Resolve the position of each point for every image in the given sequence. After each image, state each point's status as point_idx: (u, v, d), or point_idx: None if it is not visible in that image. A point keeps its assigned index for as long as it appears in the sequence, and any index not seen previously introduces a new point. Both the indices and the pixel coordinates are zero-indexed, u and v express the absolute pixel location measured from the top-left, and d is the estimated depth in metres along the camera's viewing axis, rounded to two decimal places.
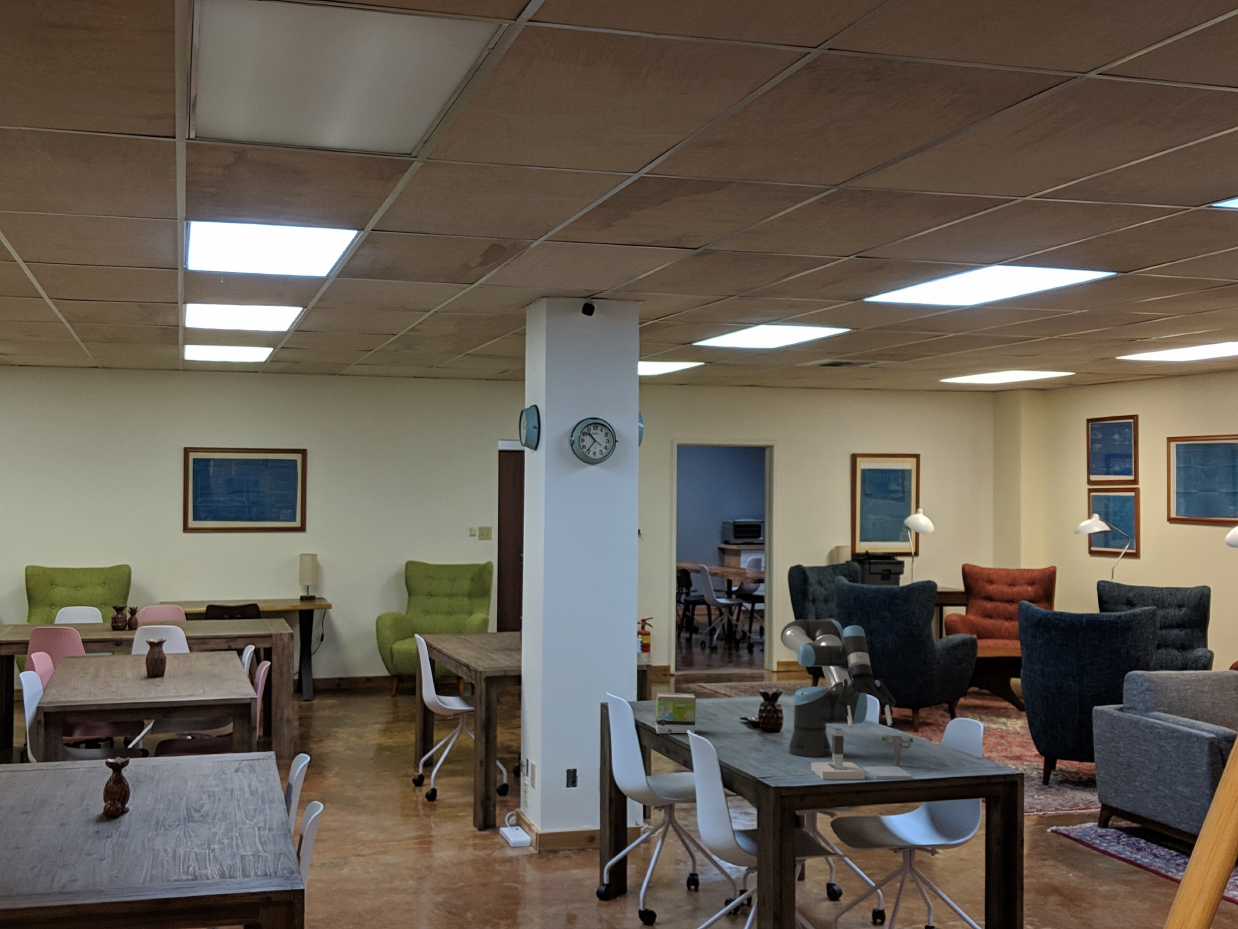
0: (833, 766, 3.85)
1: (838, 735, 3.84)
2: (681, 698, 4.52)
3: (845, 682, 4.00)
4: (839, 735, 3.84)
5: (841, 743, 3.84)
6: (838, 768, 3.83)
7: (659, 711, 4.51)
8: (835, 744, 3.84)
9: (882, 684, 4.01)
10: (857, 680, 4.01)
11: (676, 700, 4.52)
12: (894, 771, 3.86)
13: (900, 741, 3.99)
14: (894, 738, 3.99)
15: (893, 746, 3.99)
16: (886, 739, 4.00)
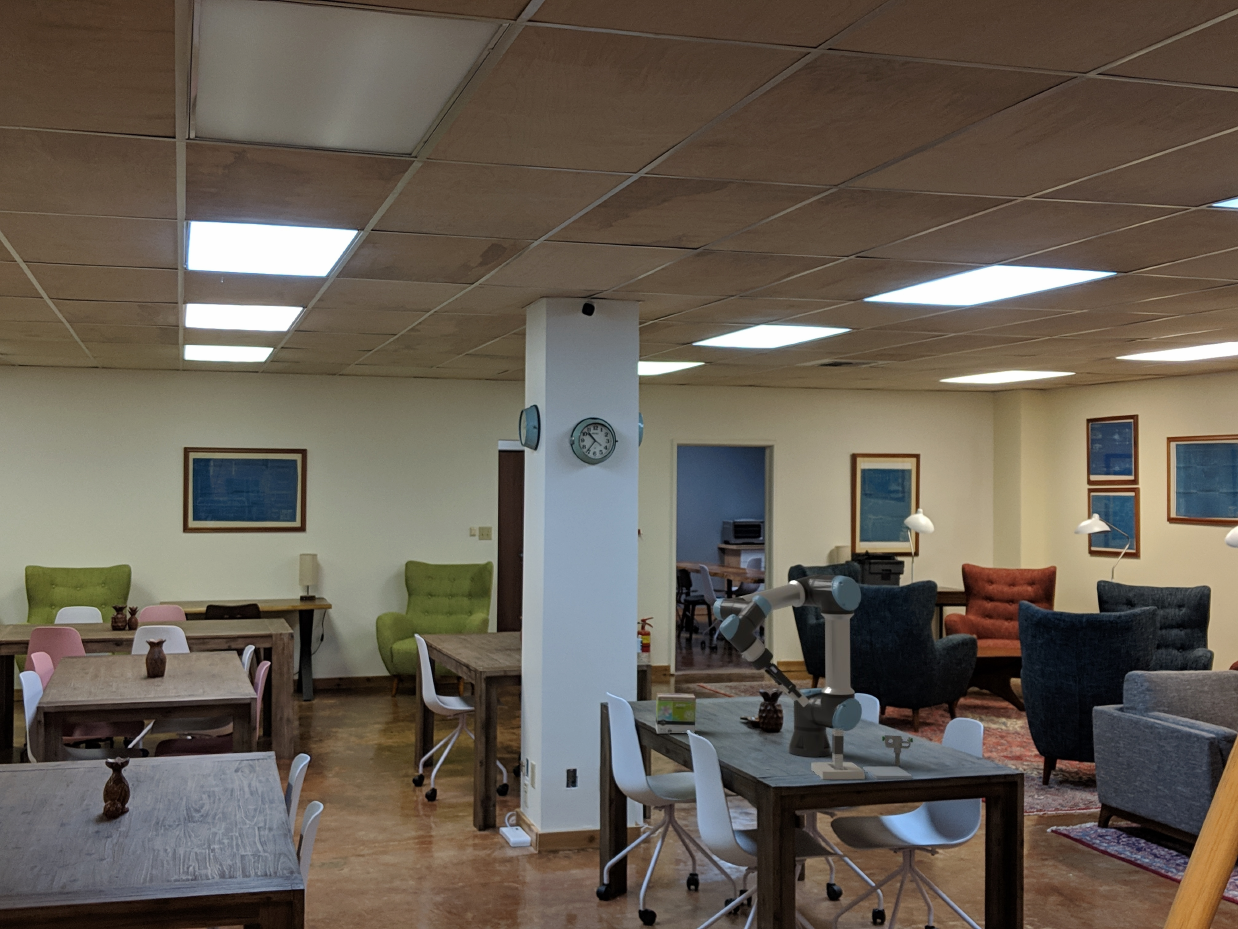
0: (833, 766, 3.85)
1: (838, 735, 3.84)
2: (681, 698, 4.52)
3: (763, 668, 3.90)
4: (839, 735, 3.84)
5: (841, 743, 3.84)
6: (838, 768, 3.83)
7: (659, 711, 4.51)
8: (835, 744, 3.84)
9: (773, 675, 3.77)
10: (764, 667, 3.86)
11: (676, 700, 4.52)
12: (894, 771, 3.86)
13: (900, 741, 3.99)
14: (894, 738, 3.99)
15: (893, 746, 3.99)
16: (886, 739, 4.00)
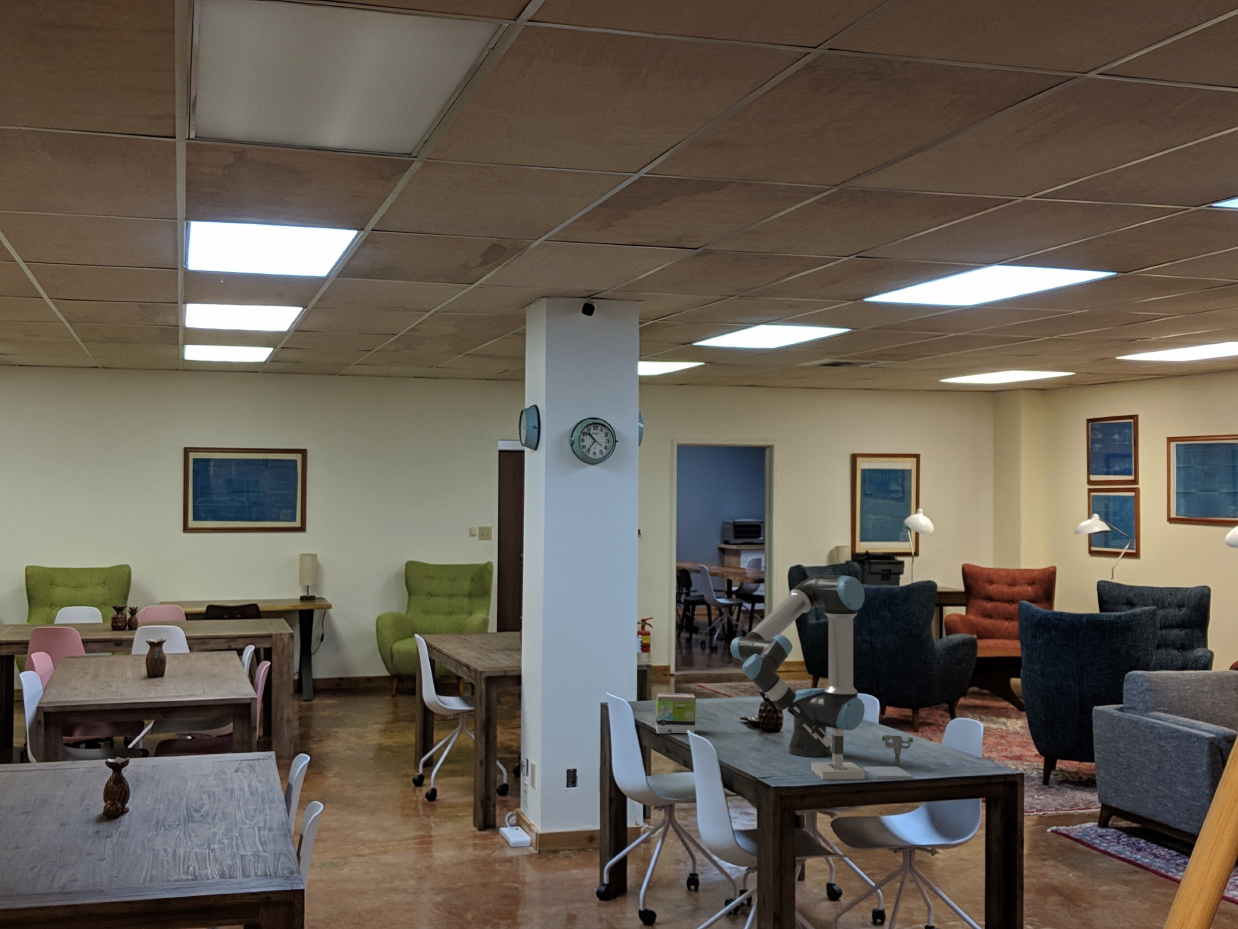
0: (833, 766, 3.85)
1: (838, 735, 3.84)
2: (681, 698, 4.52)
3: None
4: (839, 735, 3.84)
5: (841, 743, 3.84)
6: (838, 768, 3.83)
7: (659, 711, 4.51)
8: (835, 744, 3.84)
9: (797, 715, 3.77)
10: None
11: (676, 700, 4.52)
12: (894, 771, 3.86)
13: (900, 741, 3.99)
14: (894, 738, 3.99)
15: (893, 746, 3.99)
16: (886, 739, 4.00)
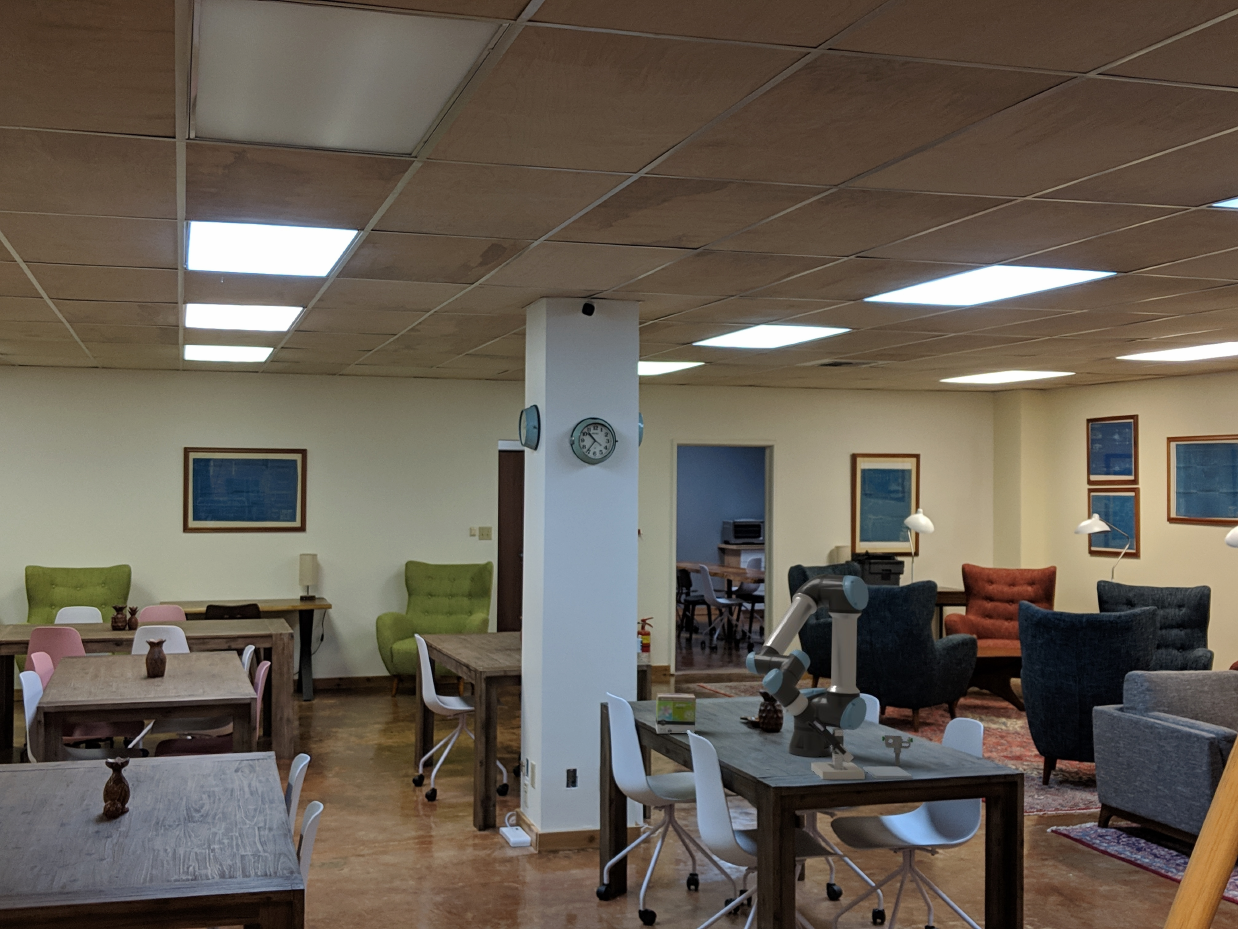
0: (833, 766, 3.85)
1: (838, 735, 3.84)
2: (681, 698, 4.52)
3: None
4: (839, 735, 3.84)
5: (841, 743, 3.84)
6: (838, 768, 3.83)
7: (659, 711, 4.51)
8: None
9: (820, 732, 3.79)
10: None
11: (676, 700, 4.52)
12: (894, 771, 3.86)
13: (900, 741, 3.99)
14: (894, 738, 3.99)
15: (893, 746, 3.99)
16: (886, 739, 4.00)
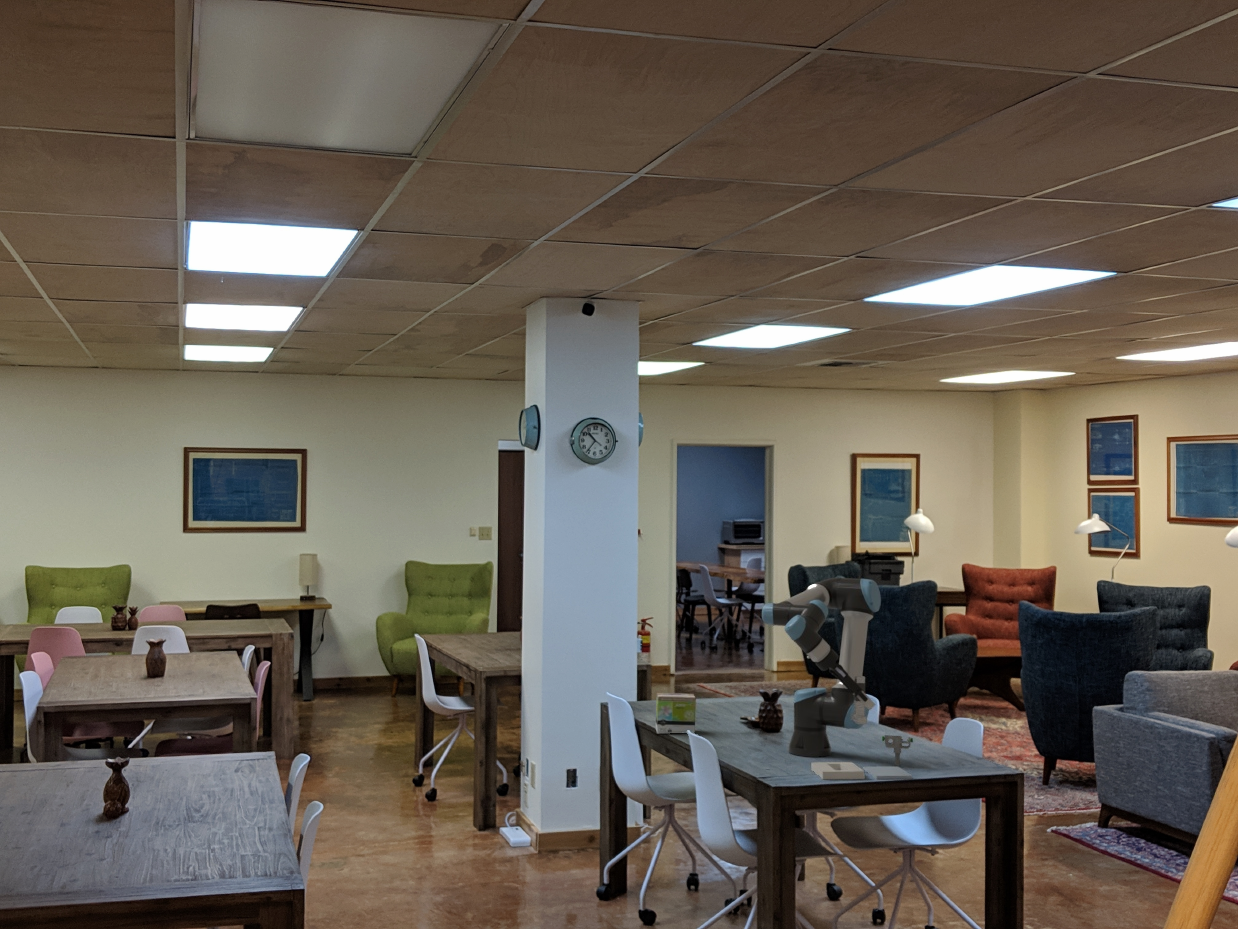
0: (854, 713, 3.85)
1: (860, 682, 3.84)
2: (681, 698, 4.52)
3: None
4: (861, 682, 3.84)
5: (863, 690, 3.84)
6: (859, 715, 3.83)
7: (659, 711, 4.51)
8: None
9: (841, 678, 3.79)
10: None
11: (676, 700, 4.52)
12: (894, 771, 3.86)
13: (900, 741, 3.99)
14: (894, 738, 3.99)
15: (893, 746, 3.99)
16: (886, 739, 4.00)
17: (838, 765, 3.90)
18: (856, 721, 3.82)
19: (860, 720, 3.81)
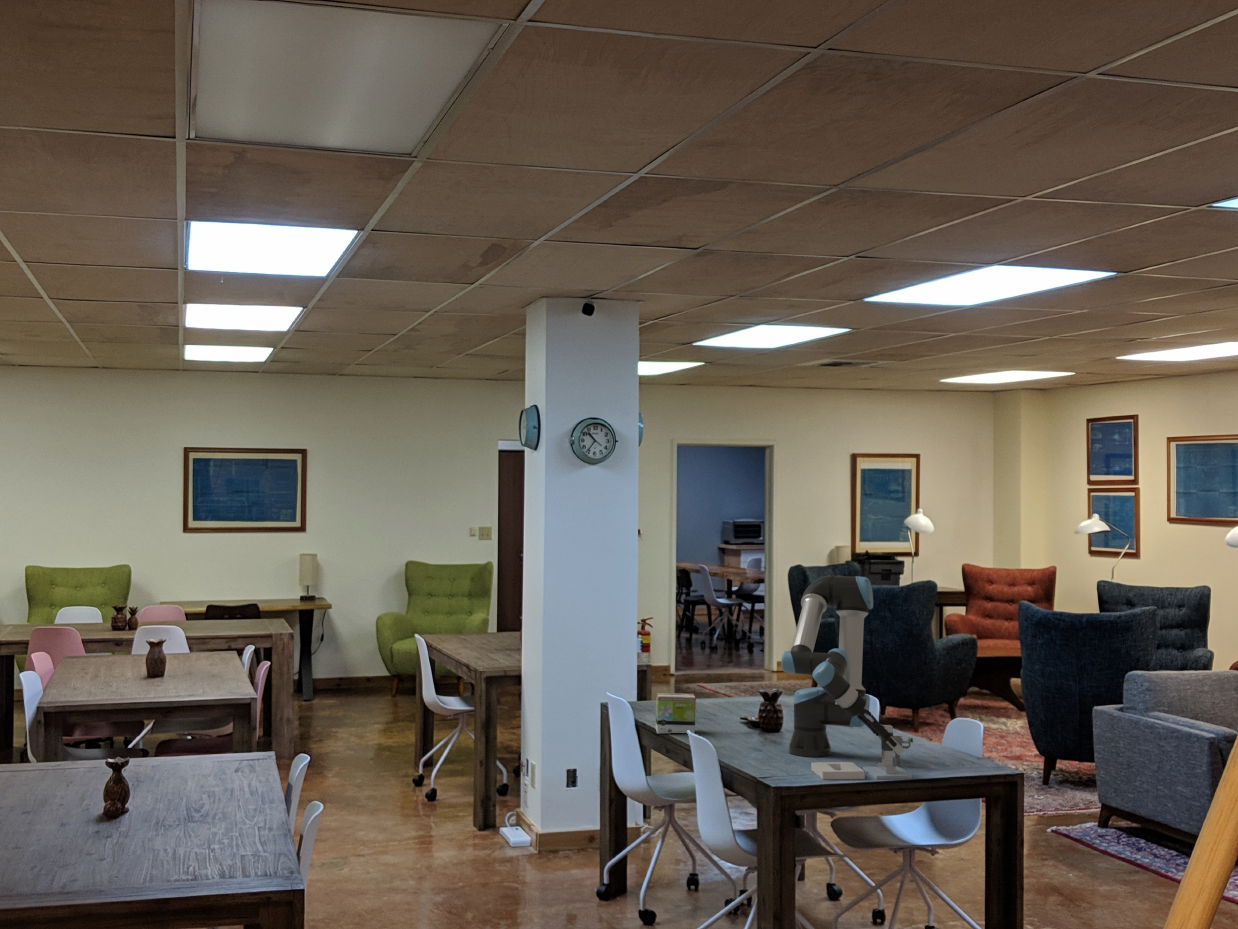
0: (883, 763, 3.86)
1: (888, 731, 3.86)
2: (681, 698, 4.52)
3: (857, 716, 3.92)
4: (889, 732, 3.85)
5: None
6: (888, 765, 3.85)
7: (659, 711, 4.51)
8: None
9: (870, 724, 3.81)
10: None
11: (676, 700, 4.52)
12: None
13: (900, 741, 3.99)
14: (894, 738, 3.99)
15: None
16: None
17: (838, 765, 3.90)
18: (885, 771, 3.83)
19: (889, 770, 3.82)
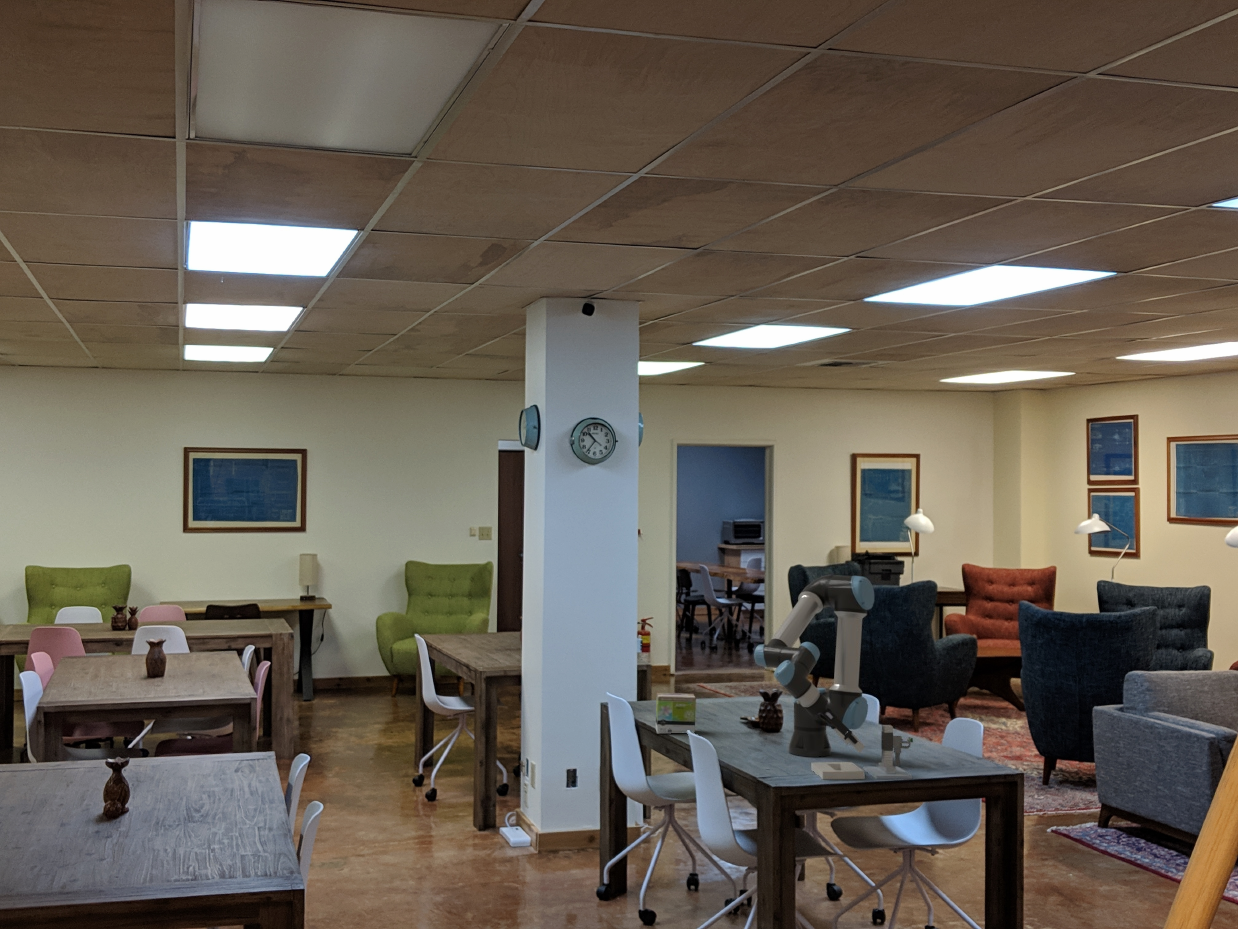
0: (883, 763, 3.86)
1: (888, 731, 3.86)
2: (681, 698, 4.52)
3: None
4: (889, 732, 3.85)
5: (891, 740, 3.85)
6: (888, 765, 3.85)
7: (659, 711, 4.51)
8: (885, 741, 3.85)
9: (829, 721, 3.79)
10: None
11: (676, 700, 4.52)
12: None
13: (900, 741, 3.99)
14: (894, 738, 3.99)
15: (893, 746, 3.99)
16: None
17: (838, 765, 3.90)
18: (885, 771, 3.83)
19: (889, 770, 3.82)
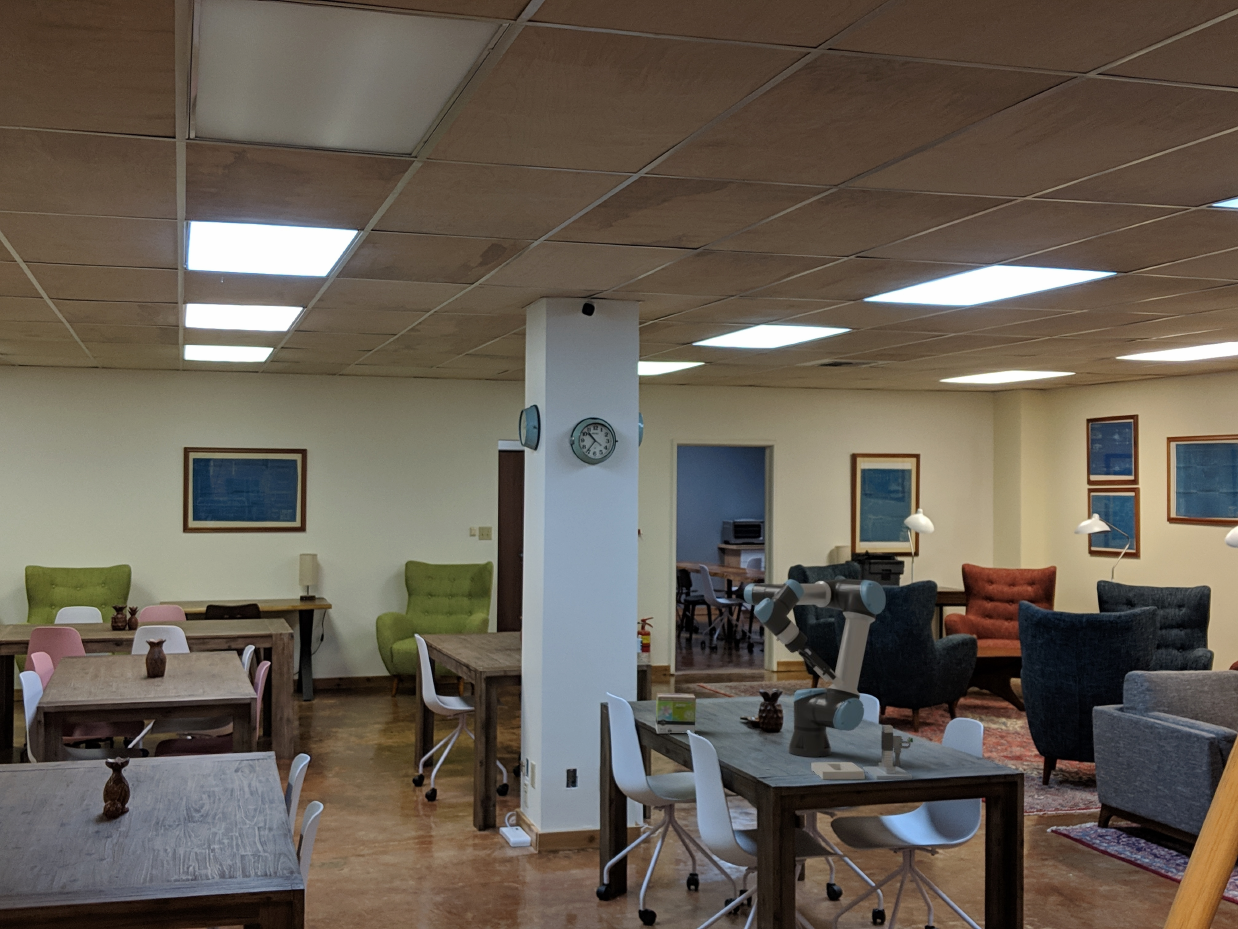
0: (883, 763, 3.86)
1: (888, 731, 3.86)
2: (681, 698, 4.52)
3: (796, 650, 3.97)
4: (889, 732, 3.85)
5: (891, 740, 3.85)
6: (888, 765, 3.85)
7: (659, 711, 4.51)
8: (885, 741, 3.85)
9: (808, 657, 3.84)
10: (798, 650, 3.92)
11: (676, 700, 4.52)
12: None
13: (900, 741, 3.99)
14: (894, 738, 3.99)
15: (893, 746, 3.99)
16: None
17: (838, 765, 3.90)
18: (885, 771, 3.83)
19: (889, 770, 3.82)
